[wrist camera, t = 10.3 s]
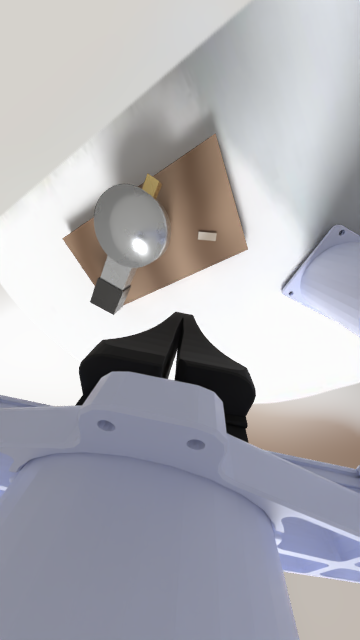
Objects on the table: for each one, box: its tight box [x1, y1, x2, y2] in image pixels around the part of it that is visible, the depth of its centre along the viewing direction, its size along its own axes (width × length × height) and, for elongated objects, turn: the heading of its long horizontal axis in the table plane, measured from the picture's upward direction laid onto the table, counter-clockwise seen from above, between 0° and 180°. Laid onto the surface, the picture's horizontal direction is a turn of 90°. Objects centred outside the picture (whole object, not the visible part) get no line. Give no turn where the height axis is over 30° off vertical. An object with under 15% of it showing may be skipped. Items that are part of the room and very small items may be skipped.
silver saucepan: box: [90, 174, 171, 315], centre depth 16 cm, size 13×6×3 cm, turn 150°
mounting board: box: [62, 133, 248, 305], centre depth 18 cm, size 10×18×2 cm, turn 115°
